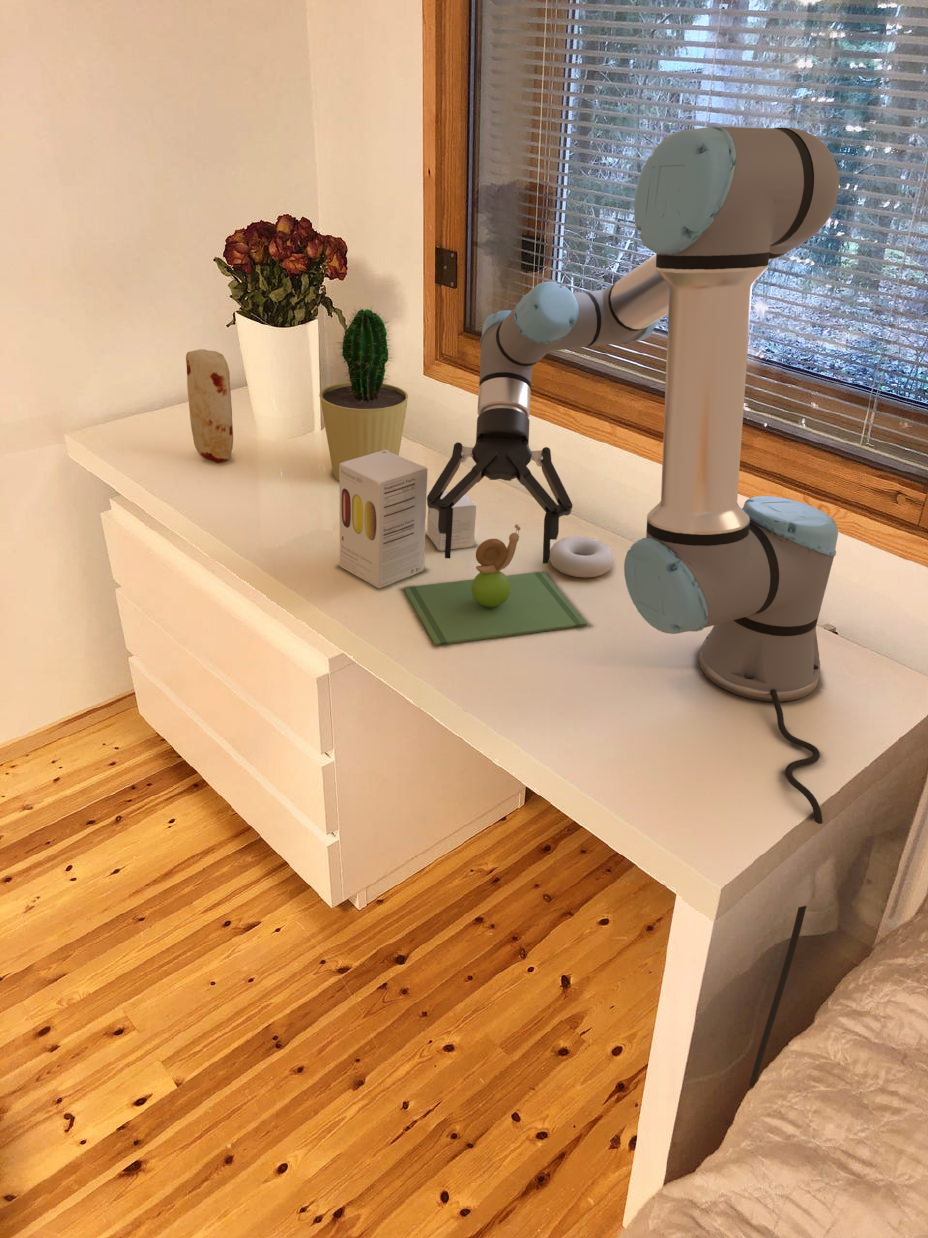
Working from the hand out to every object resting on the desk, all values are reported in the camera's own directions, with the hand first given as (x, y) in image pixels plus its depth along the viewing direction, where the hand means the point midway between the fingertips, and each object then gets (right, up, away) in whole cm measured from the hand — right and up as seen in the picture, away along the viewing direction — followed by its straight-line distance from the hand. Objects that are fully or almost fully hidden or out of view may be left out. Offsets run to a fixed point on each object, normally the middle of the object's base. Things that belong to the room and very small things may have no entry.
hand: (496, 558), depth 144 cm
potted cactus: (-23, +18, +45) cm, 54 cm away
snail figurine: (0, -7, +5) cm, 8 cm away
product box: (-7, +4, +23) cm, 24 cm away
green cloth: (0, -7, +5) cm, 8 cm away
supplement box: (-17, -1, +13) cm, 22 cm away
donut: (+13, 0, +17) cm, 22 cm away
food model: (-50, +21, +49) cm, 73 cm away
